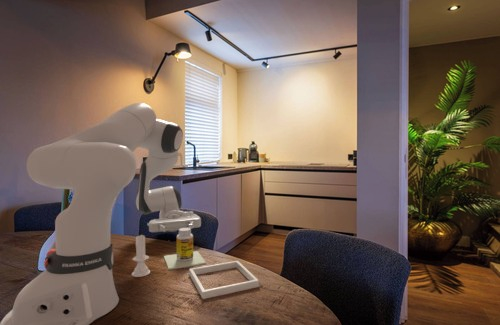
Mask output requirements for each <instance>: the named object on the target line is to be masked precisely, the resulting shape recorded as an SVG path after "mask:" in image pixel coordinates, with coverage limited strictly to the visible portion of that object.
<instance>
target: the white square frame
mask: <svg viewBox="0 0 500 325" xmlns="http://www.w3.org/2000/svg"><path fill="white" fill-rule="evenodd" d="M234 268H235V269H237V270H238V271H239V272H240V273H241V274H242V275H243V276H244V277H245V278H246V279H247V281H243V282H238V283H232V284H228V285H224V286H217V287H213V288H207V289H205V288H204V287H203V284H202V283H201V281H200V279H199V278H198V276H197V275H201V274H202V275H203V274H207V273H213V272H218V271H224V270H225V271H226V270H229V269H234ZM188 272H189V274H188V275H189V277H190V278H191V280H192V283H193V284H194V286H195V287H196V290H197V292H198V293H199V295H200V297H201V299H202V300H205V299H210V298H214V297H220V296H223V295H229V294H232V293H237V292H241V291H246V290H247V291H248V290H250V289H255V288H259V286H260V285H259V284H260V280H259V279H258V278H257V277H256V276H255V274H252V273H251V271H249V270H248V268H246V267H245V266H244V264H242V263H241V262H240V261H239V260H235V261H228V262H222V263H217V264H211V265H204V266H200V267H193V268H189V270H188Z"/></svg>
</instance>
